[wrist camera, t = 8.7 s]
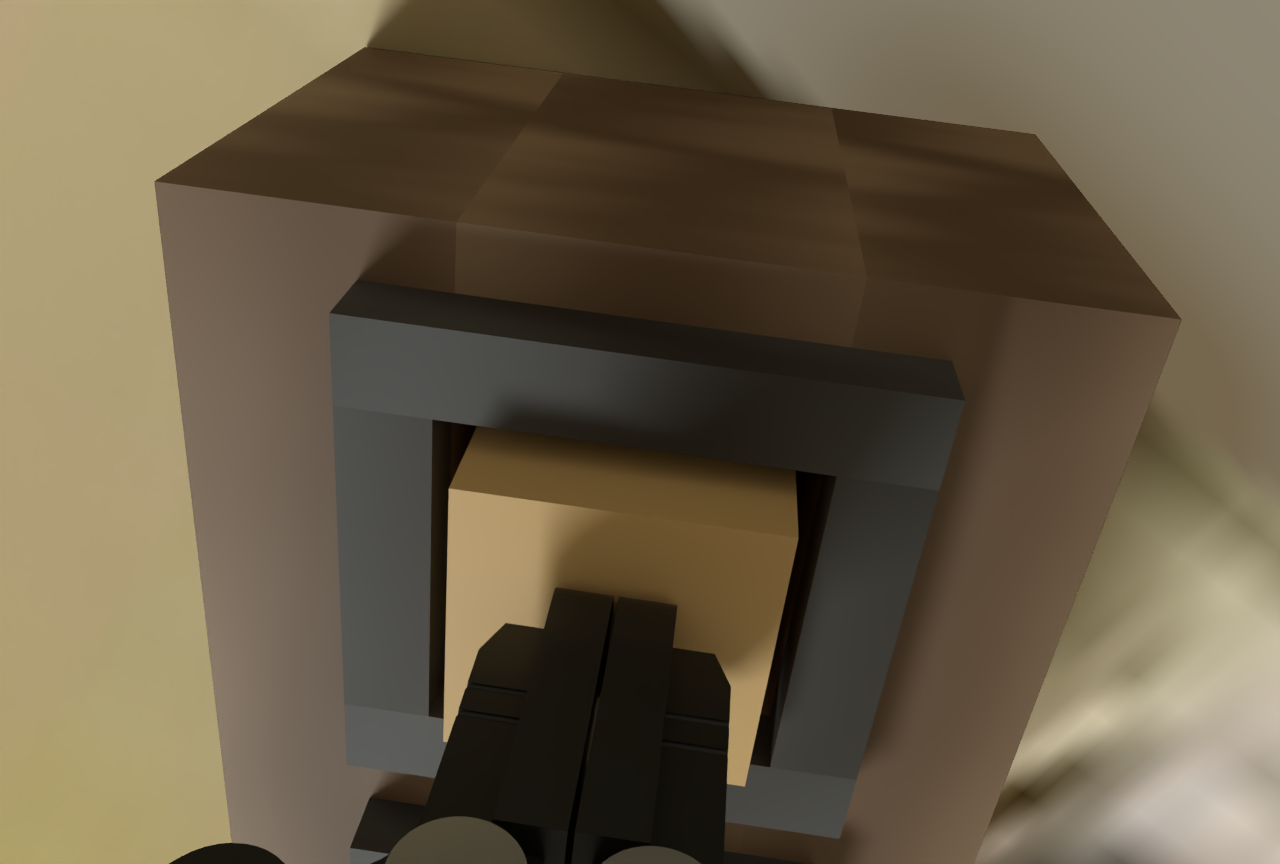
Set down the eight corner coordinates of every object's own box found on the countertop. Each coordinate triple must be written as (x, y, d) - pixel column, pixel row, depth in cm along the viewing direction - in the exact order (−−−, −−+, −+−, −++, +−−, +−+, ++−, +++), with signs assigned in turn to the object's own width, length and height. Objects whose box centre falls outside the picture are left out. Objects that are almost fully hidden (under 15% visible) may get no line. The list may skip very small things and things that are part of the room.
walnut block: (378, 761, 29) (237, 1114, 21) (364, 47, 20) (111, 208, 12) (837, 830, 29) (864, 1216, 21) (1035, 134, 20) (1211, 358, 12)
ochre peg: (545, 438, 22) (443, 741, 15) (560, 243, 20) (449, 488, 13) (751, 467, 22) (744, 786, 15) (786, 274, 20) (798, 538, 13)
